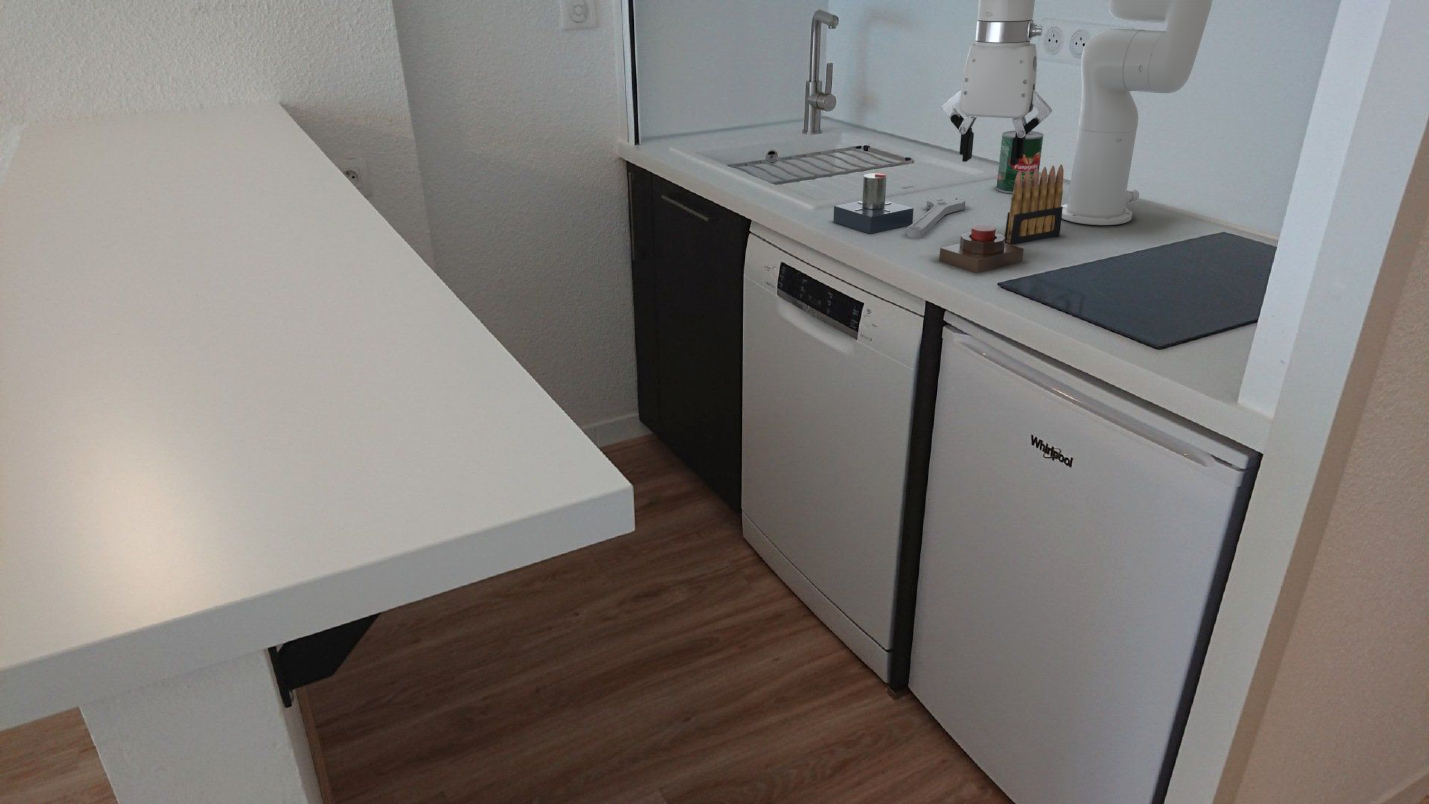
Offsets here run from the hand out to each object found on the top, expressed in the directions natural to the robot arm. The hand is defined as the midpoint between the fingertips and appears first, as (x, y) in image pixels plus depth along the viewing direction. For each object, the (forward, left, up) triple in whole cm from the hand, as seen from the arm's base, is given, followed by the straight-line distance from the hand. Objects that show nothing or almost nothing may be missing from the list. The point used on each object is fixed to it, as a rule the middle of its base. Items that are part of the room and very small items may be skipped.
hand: (990, 160), depth 142 cm
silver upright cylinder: (-2, -27, -13) cm, 30 cm away
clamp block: (-2, -28, -16) cm, 32 cm away
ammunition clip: (-16, -4, -16) cm, 23 cm away
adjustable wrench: (-12, -23, -16) cm, 30 cm away
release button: (0, 0, -12) cm, 12 cm away
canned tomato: (-42, -30, -16) cm, 54 cm away
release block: (0, 0, -16) cm, 16 cm away
